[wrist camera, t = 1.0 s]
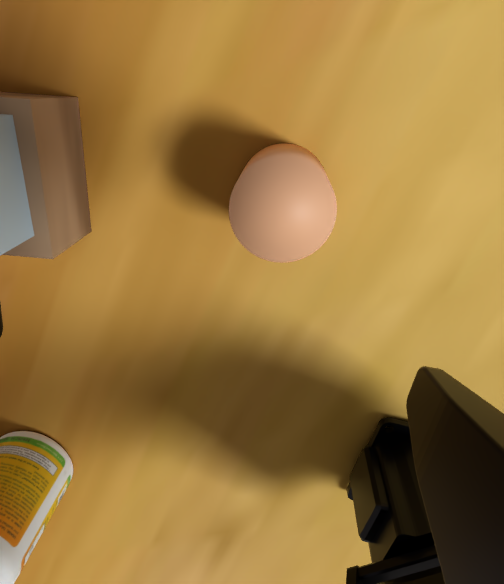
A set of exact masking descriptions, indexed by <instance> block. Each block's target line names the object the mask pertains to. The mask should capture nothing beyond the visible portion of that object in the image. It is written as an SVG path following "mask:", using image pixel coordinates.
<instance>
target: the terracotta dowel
mask: <svg viewBox="0 0 504 584" xmlns="http://www.w3.org/2000/svg"><path fill="white" fill-rule="evenodd" d="M336 214H337V203H336V197H335V193H334V190H333V188H332V186H331V184H330V181H329V179H328V177H327V175H326V172H325V170H324V168H323V166H322V164H321V163H320V161H319V160H318V159H317V157H316V156H315V155H313V154H312V153H311V152H310V151H308V150H307V149H305V148H303V147H301V146H298V145H295V144H289V143H281V144H274V145H271V146H268V147H265V148H264V149H262V150H260V151H259V152H257V153H256V154H255V155H254V156H253V157H252V158H251V159H250V160H249V161H248V163H247V164H246V166H245V168H244V169H243V171H242V173H241V175H240V177H239V179H238V180H237V182H236V184H235V186H234V188H233V191H232V193H231V197H230V202H229V219H230V223H231V227H232V229H233V232H234V234H235V235H236V237H237V239H238V240H239V241H240V243H241V244H242V245H243V246H244V247H245V248H246V249H247V250H248V251H250V252H251V253H252V254H254V255H256V256H258V257H260V258H262V259H265V260H268V261H272V262H292V261H297V260H300V259H303V258H305V257H307V256H309V255H311V254H312V253H314V252H315V251H316V250H318V249H319V248H320V247H321V246H322V245H323V244H324V243H325V241H326V240H327V239H328V237H329V235H330V234H331V232H332V230H333V227H334V224H335V220H336Z"/></svg>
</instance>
